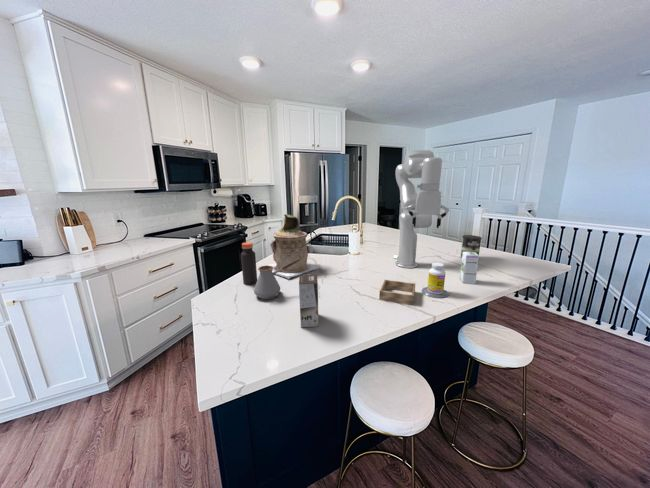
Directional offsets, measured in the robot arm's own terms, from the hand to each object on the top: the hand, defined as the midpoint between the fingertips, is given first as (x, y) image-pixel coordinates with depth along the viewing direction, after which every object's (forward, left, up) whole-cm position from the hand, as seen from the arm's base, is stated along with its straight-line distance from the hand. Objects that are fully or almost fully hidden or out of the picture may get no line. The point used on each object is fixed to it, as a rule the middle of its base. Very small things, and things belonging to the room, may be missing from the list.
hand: (425, 226), depth 115 cm
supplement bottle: (+8, -2, -28) cm, 29 cm away
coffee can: (-3, +61, -29) cm, 68 cm away
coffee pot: (-37, -56, -29) cm, 72 cm away
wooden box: (-1, -18, -28) cm, 33 cm away
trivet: (+8, -3, -28) cm, 30 cm away
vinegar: (-58, -60, -29) cm, 88 cm away
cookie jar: (-61, -34, -29) cm, 75 cm away
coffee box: (-10, -59, -29) cm, 66 cm away
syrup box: (+12, +21, -29) cm, 38 cm away
